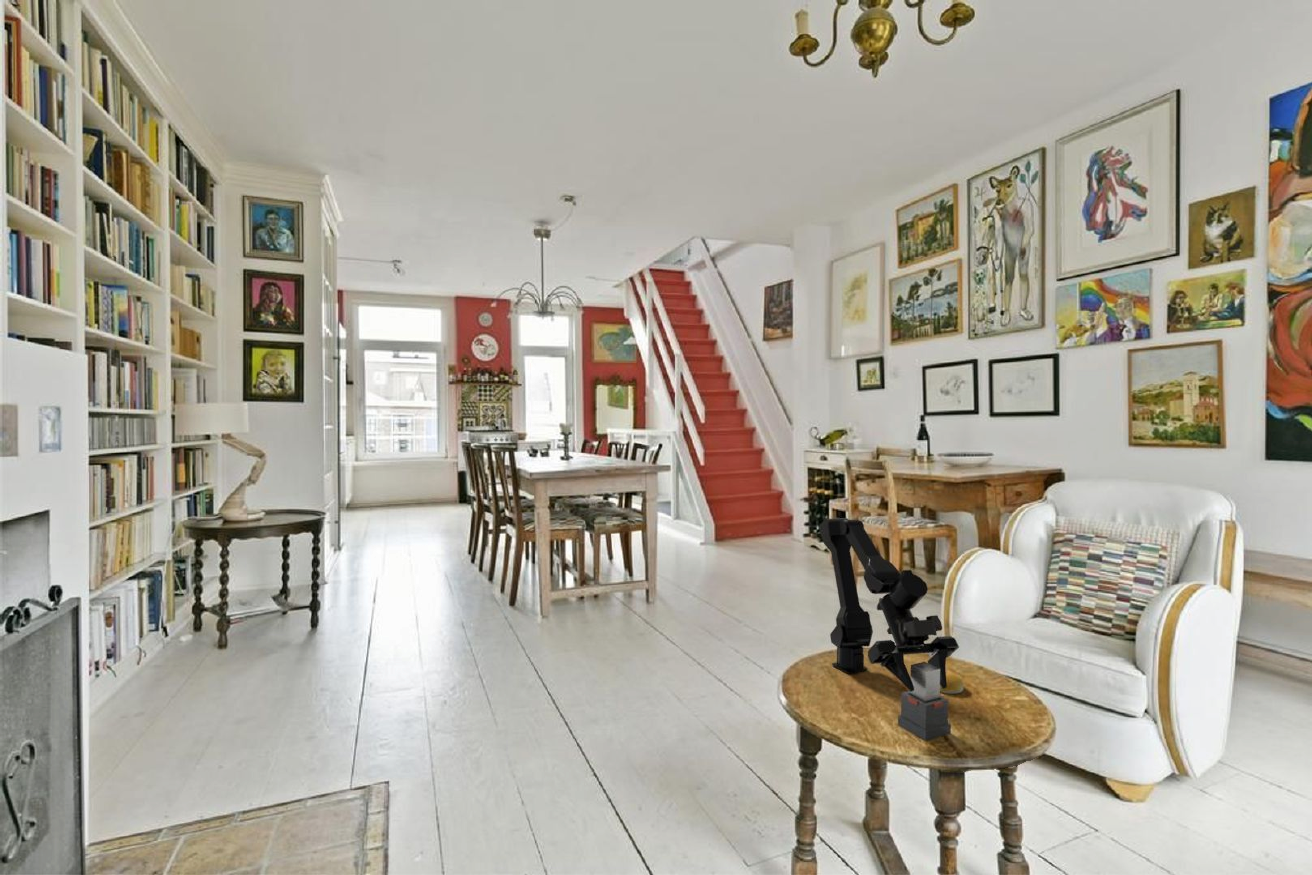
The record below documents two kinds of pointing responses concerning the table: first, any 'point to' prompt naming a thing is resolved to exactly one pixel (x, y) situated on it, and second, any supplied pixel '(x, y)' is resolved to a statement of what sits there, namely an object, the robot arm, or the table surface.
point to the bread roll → (952, 684)
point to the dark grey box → (924, 717)
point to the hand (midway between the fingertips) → (928, 689)
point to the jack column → (925, 682)
